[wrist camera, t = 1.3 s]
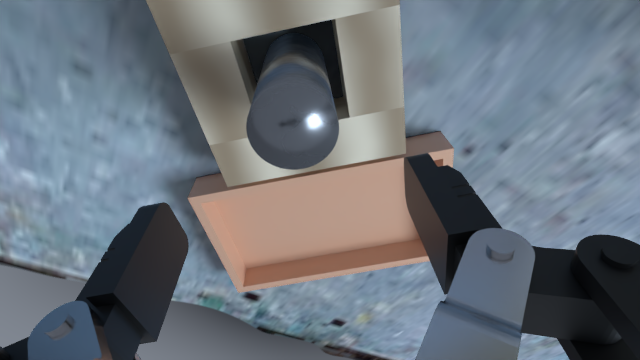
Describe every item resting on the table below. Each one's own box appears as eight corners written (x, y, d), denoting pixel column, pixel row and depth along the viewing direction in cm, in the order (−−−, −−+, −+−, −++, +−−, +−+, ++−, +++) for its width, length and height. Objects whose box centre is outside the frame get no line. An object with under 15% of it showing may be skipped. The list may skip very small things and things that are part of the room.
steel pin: (318, 27, 23) (330, 76, 14) (328, 86, 26) (345, 160, 17) (257, 40, 24) (233, 96, 15) (274, 98, 26) (261, 176, 17)
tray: (440, 131, 29) (453, 148, 26) (437, 236, 36) (448, 257, 34) (196, 177, 30) (187, 198, 28) (242, 270, 37) (238, 292, 35)
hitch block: (380, -73, 20) (396, -77, 17) (393, 129, 28) (406, 153, 25) (162, -23, 21) (138, -17, 18) (235, 160, 29) (227, 187, 26)
